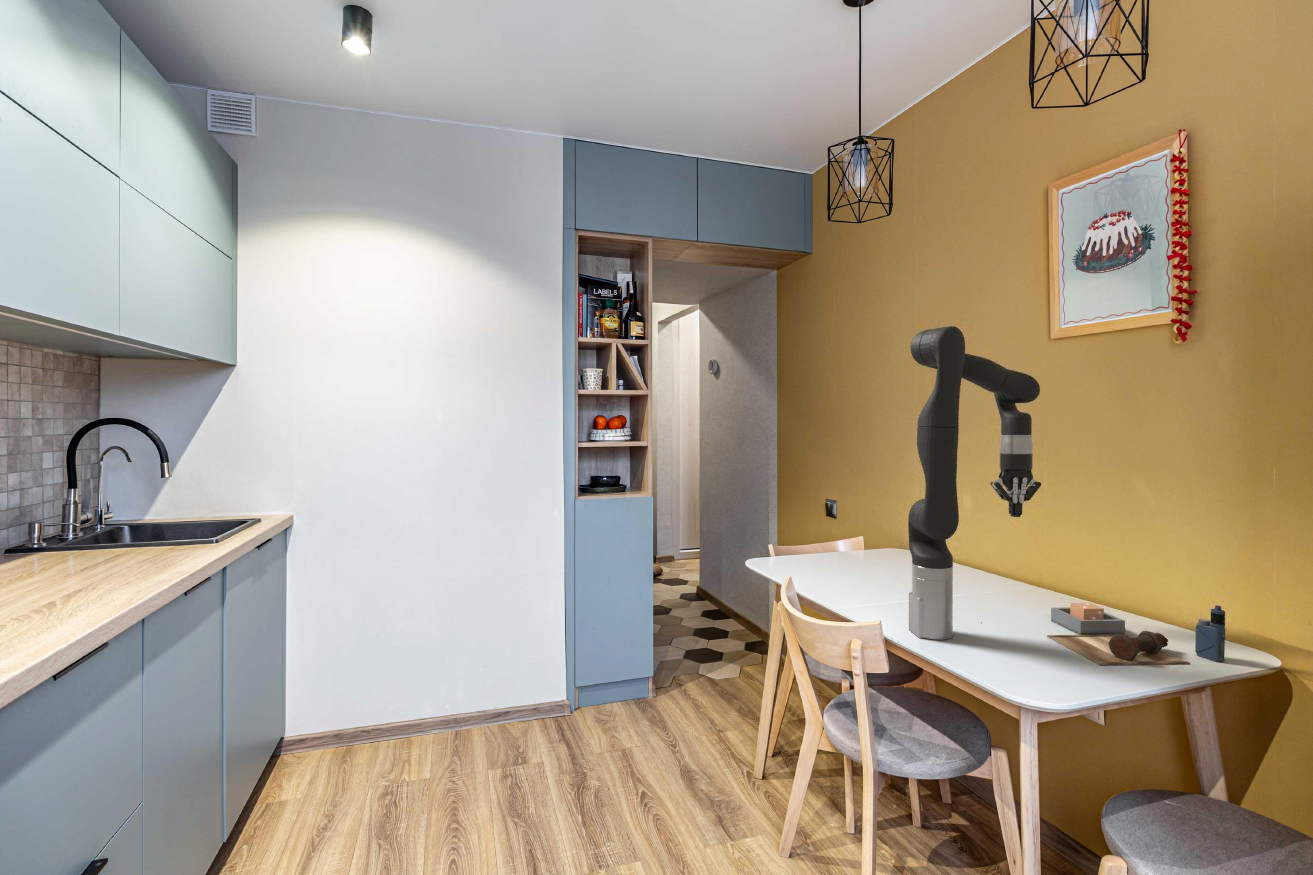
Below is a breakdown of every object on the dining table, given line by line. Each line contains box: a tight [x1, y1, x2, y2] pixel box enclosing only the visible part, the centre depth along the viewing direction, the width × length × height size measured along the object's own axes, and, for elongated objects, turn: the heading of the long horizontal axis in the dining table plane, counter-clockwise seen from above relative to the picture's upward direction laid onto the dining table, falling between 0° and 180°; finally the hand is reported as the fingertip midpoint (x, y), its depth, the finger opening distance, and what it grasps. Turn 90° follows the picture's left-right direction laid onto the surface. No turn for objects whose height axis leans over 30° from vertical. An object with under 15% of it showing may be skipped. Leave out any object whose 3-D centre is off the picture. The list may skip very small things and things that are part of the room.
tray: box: [1050, 606, 1126, 635], centre depth 157 cm, size 11×11×4 cm
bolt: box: [1108, 630, 1169, 661], centre depth 138 cm, size 6×5×15 cm
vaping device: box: [1194, 604, 1226, 663], centre depth 136 cm, size 3×5×12 cm, turn 16°
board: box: [1046, 633, 1191, 666], centre depth 142 cm, size 20×18×1 cm
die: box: [1069, 602, 1105, 620], centre depth 157 cm, size 5×5×5 cm
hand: (1015, 516), depth 165 cm, fingers closed
